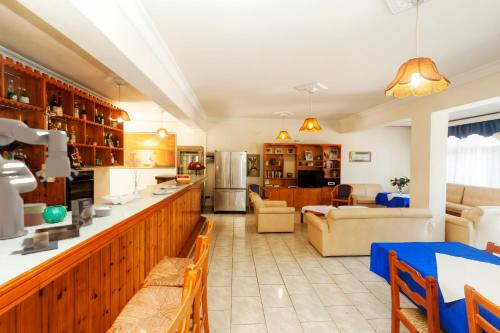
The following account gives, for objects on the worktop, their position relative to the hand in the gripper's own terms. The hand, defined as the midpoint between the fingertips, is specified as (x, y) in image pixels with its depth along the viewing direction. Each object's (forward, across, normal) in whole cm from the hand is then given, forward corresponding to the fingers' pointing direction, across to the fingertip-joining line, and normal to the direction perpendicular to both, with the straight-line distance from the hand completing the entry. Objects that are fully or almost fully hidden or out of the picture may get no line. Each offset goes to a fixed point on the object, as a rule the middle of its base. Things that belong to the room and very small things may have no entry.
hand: (58, 188), depth 127 cm
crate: (+26, -1, +3) cm, 26 cm away
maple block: (+25, -6, -12) cm, 29 cm away
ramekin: (+26, +23, +43) cm, 56 cm away
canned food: (+27, -14, +41) cm, 51 cm away
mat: (+26, -6, -12) cm, 29 cm away
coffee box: (+26, +10, +20) cm, 35 cm away
